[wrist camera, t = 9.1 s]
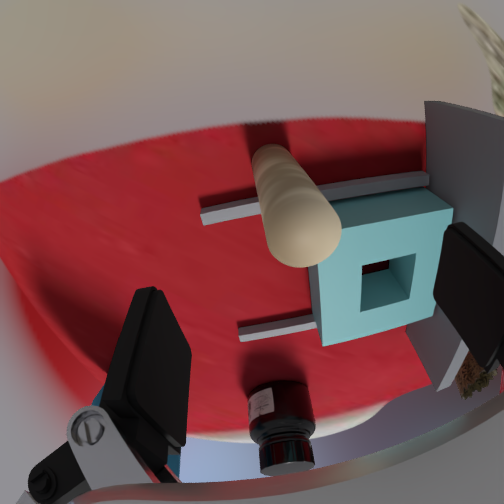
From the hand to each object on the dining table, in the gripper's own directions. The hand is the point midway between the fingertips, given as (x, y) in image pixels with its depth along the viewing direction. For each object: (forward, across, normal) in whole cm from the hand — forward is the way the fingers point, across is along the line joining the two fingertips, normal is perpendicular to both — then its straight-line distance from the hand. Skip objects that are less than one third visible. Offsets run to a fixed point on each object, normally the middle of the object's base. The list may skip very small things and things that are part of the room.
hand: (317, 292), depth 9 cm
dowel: (+16, -1, 0) cm, 16 cm away
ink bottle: (+16, +3, +32) cm, 36 cm away
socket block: (+16, -8, +10) cm, 20 cm away
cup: (+15, -29, +35) cm, 48 cm away
